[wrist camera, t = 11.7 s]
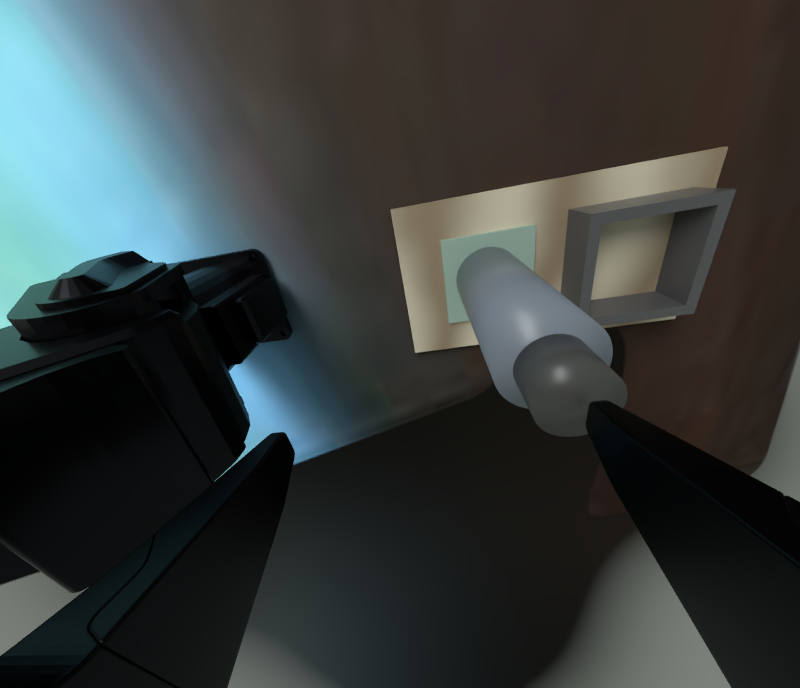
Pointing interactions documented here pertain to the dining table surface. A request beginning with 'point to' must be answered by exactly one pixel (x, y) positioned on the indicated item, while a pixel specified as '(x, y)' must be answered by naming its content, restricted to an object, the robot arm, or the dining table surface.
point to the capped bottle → (537, 342)
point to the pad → (460, 248)
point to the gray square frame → (682, 262)
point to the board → (545, 235)
